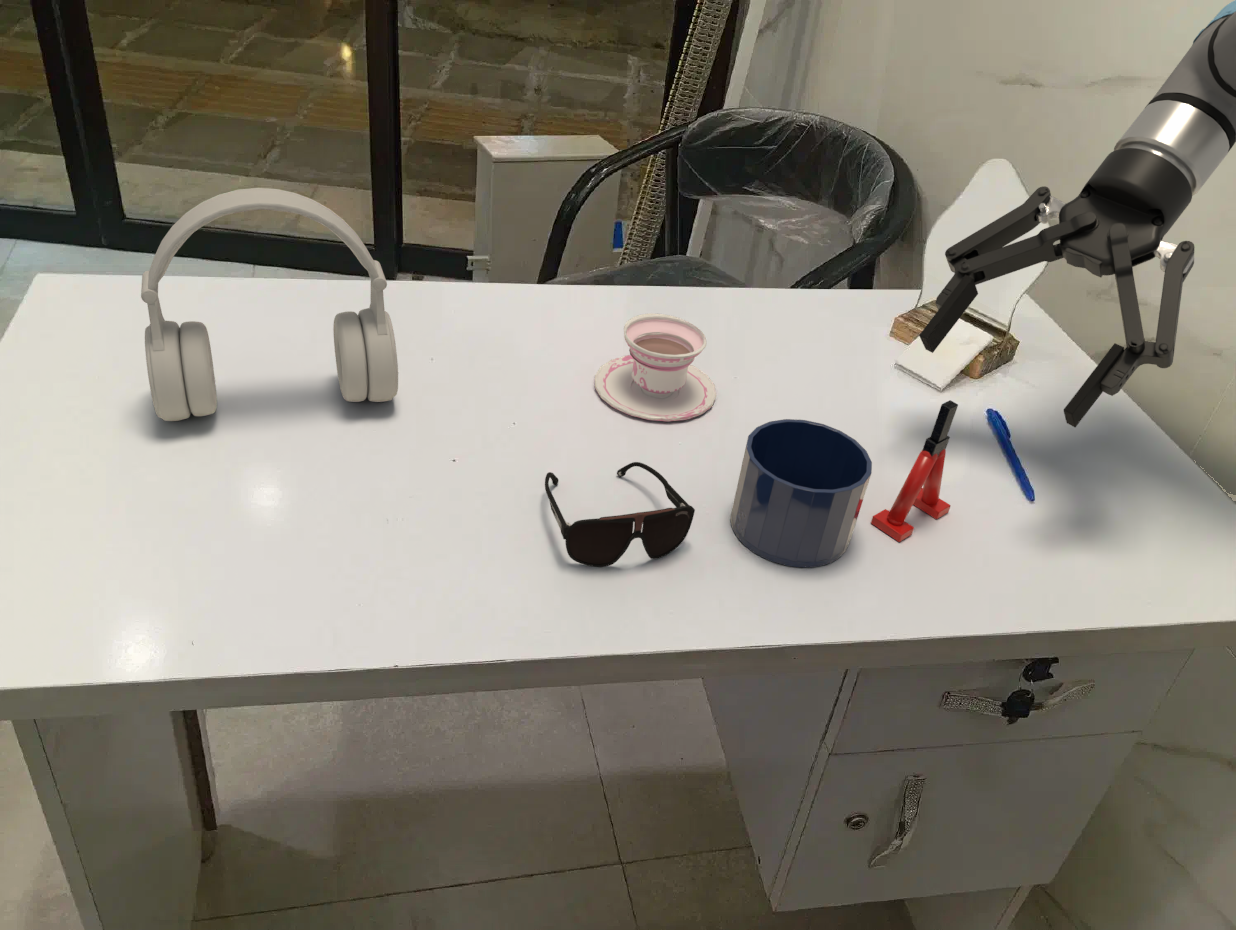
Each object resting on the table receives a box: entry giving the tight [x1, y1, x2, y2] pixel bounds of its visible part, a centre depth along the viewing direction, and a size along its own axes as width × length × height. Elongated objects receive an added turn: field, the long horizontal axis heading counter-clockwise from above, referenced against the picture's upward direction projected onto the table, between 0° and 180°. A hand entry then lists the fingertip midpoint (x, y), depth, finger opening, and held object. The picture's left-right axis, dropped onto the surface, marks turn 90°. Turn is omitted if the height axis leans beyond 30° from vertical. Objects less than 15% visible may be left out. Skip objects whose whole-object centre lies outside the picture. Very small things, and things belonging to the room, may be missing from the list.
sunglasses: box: [544, 461, 696, 568], centre depth 79 cm, size 10×12×5 cm
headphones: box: [140, 187, 399, 422], centre depth 83 cm, size 20×8×19 cm, turn 109°
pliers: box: [870, 400, 959, 543], centre depth 81 cm, size 3×7×12 cm, turn 131°
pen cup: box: [730, 418, 873, 568], centre depth 80 cm, size 10×10×8 cm
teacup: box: [594, 313, 717, 422], centre depth 96 cm, size 12×12×6 cm
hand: (993, 380), depth 82 cm, fingers open, 13 cm apart
